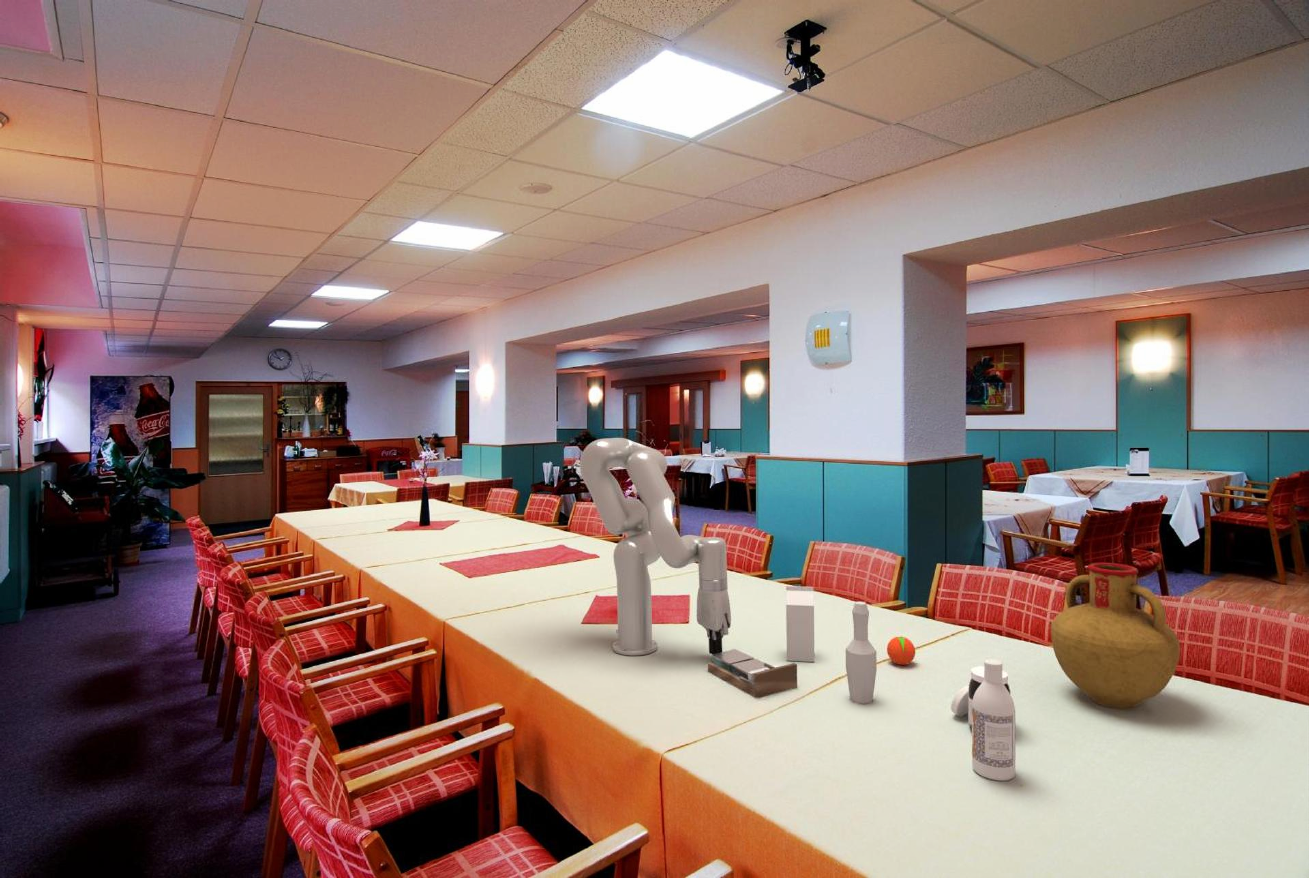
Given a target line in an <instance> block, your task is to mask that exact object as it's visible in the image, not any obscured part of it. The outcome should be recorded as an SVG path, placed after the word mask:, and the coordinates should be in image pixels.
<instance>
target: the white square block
mask: <svg viewBox="0 0 1309 878" xmlns="http://www.w3.org/2000/svg"><path fill="white" fill-rule="evenodd" d="M765 663H766V662H763V661H761V660H760V659H757V658H754V660H749V661H744V662H739V663H735V664H731V666H732V674H734V675H736V676H738V677H743V678H745V679H747V680H748V672H750V671H754V670H758V669H762V668H766V667H765V666H764V664H765Z"/></svg>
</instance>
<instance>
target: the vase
mask: <svg viewBox="0 0 1309 878" xmlns="http://www.w3.org/2000/svg"><path fill="white" fill-rule="evenodd" d="M1087 568H1088V571H1089V574H1082V575H1078V576H1076V577H1073V578H1072V579H1071V580H1070V582H1069V583H1068V584H1067V586H1066V590H1065V601H1066V605H1067V609H1064V610H1063V611H1061V612H1060V613H1058V614H1056V616H1054V618H1053V619H1052V622H1051V625H1050V636H1051V643H1052V645H1051V646H1052V649H1053V652H1054V655H1055V658H1056V660H1057V663H1058V664H1059V666H1060V668H1061V669H1062V671H1063V672H1064V674H1065V675H1066V677H1067V678H1068V679H1069V680H1070V681H1071V682H1072V683H1073V684H1074V685H1075V686H1076V687H1077V688H1078V689H1080V690H1081V691H1082V692H1083V693H1084V694H1086V695H1087V696H1088V698H1090V700H1092V701H1093V702H1095V703H1097V704H1099V705H1102V706H1105V707H1108V708H1109V707H1110V708H1113V709H1132V708H1134V707H1136V706H1138V705H1139V704H1141V703H1143V702H1145V701H1148V700H1150V699H1152V698H1154V697H1157V695H1159V694H1160V693H1161V692H1162V691H1163V690H1164V689H1165V688H1167V685H1168V684H1169V682H1170V681H1171V679H1172V677H1173V675H1174V674H1175V672H1176V669H1177V668H1178V667H1177V666H1178V663H1179V660H1180V653H1181V643H1180V640H1179V638H1178V636H1177V634H1176V632H1175V631H1174V630H1173V629H1172V628H1171V627H1170V626H1169V625H1168V624H1167V623H1166V619H1167V614H1166V610H1165V608H1164V605H1163V603H1162V601H1161V600H1160V599H1159V597H1158V596H1157V595H1156V594H1155V593H1154V592H1153V591H1151V590H1150V589H1148V588H1146V587H1144V586H1143V585H1139V584H1137V574H1138V573H1139V569H1138V568H1137V567H1134V566H1132V565H1128V564H1121V563H1115V562H1094V563H1090V564H1088V565H1087ZM1083 585H1089V602H1088V603H1087V602H1086V603H1081V604H1078V603H1077V597H1076V595H1077V591H1078V589H1079V588H1080V587H1081V586H1083ZM1137 596H1139V597H1141V598H1142V599H1144V600H1145V601H1146V602H1147V603H1148V604H1149V606H1150V607H1151V609H1152V612H1153V614H1151V613H1149V612H1147V611H1144V610H1142V609H1140V608H1137Z"/></svg>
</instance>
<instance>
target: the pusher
mask: <svg viewBox="0 0 1309 878" xmlns="http://www.w3.org/2000/svg"><path fill="white" fill-rule="evenodd" d="M772 666H773V667H775V668H776V667H780V666H782V664H775V665H772ZM768 669H769V668H767V667H766V668H762V669H758V670H754V671H750V672H748V680H749V681H751V682H753V683H754V673H756V672H760V671H764V670H768Z"/></svg>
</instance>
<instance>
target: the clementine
mask: <svg viewBox="0 0 1309 878" xmlns="http://www.w3.org/2000/svg"><path fill="white" fill-rule="evenodd" d="M886 651H887V655H888V657H889V659H890V660H891V661H892V662H893V663H895V664H898V665H901V666H902V665H908V664H910V663H911V662H912V661H913V660H914V658H915V656H916V648H915V645H914V643H913V642H912V640H910V639H908V638H907V637H904V636H895V637H893V638H891V639H890V641H889V642H888V644H887V647H886Z"/></svg>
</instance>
